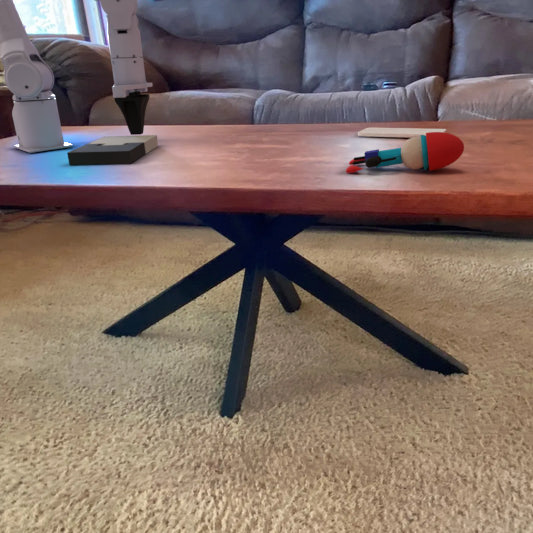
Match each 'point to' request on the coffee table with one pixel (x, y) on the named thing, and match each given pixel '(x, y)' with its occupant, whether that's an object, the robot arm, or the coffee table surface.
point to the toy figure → (415, 153)
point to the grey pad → (129, 141)
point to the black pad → (106, 154)
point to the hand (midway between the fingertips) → (136, 134)
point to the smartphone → (397, 132)
